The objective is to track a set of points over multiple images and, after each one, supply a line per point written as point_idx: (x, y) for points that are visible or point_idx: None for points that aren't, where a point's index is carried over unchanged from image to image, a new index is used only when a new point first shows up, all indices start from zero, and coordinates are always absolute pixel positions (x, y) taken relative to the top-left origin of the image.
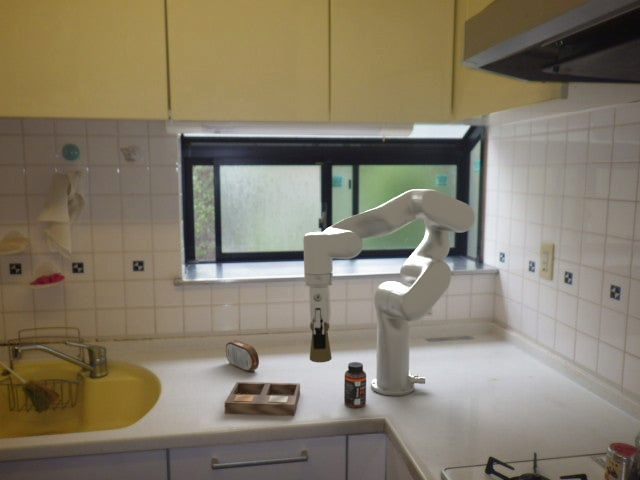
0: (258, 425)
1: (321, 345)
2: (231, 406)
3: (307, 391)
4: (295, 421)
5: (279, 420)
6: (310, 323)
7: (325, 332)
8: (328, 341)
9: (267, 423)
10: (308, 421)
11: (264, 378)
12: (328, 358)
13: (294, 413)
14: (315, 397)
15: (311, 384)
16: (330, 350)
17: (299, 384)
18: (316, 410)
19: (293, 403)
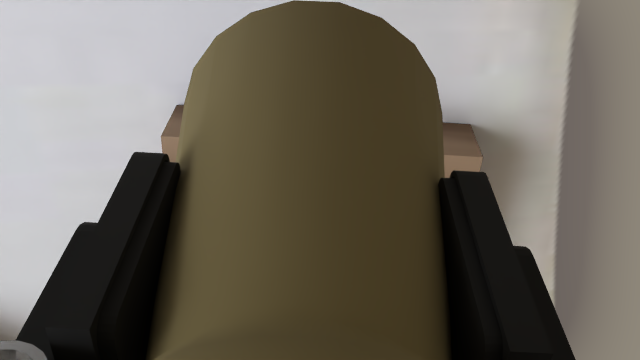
0: (545, 263)
1: (523, 256)
2: None
3: (137, 63)
4: (539, 116)
5: (512, 188)
6: None
7: (406, 344)
8: (353, 163)
9: (533, 233)
10: (554, 49)
11: (12, 279)
12: (409, 53)
13: (466, 128)
14: (223, 12)
15: (20, 40)
16: (297, 53)
17: (177, 138)
18: (414, 4)
19: (466, 162)
